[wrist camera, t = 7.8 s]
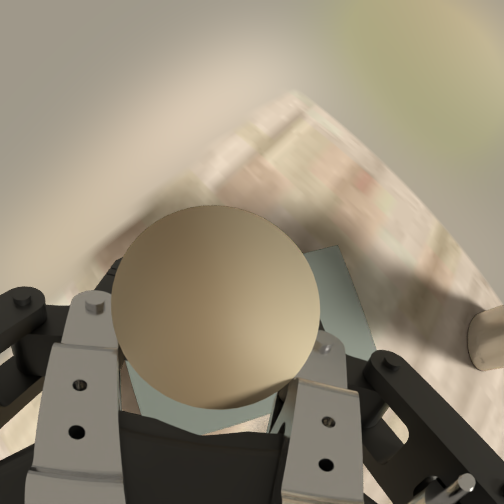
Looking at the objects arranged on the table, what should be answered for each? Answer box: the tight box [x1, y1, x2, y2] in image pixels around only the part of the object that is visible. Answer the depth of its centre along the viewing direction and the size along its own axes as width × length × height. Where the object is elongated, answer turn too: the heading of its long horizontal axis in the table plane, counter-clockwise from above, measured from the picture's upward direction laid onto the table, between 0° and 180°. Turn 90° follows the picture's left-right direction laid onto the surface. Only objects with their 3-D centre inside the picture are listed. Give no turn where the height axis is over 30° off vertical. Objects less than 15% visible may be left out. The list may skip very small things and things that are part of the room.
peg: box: [111, 205, 320, 410], centre depth 10 cm, size 4×4×9 cm
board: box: [126, 245, 377, 435], centre depth 30 cm, size 24×14×3 cm, turn 108°
